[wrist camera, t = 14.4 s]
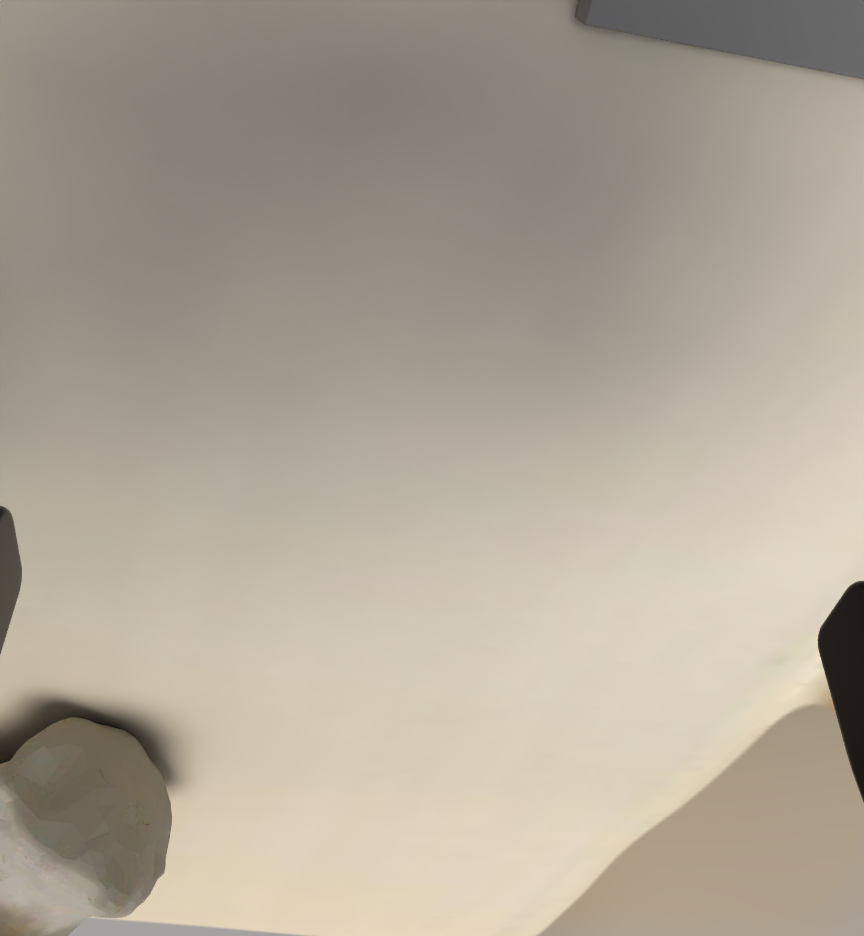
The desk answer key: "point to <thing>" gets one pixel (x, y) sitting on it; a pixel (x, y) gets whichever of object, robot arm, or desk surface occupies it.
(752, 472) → the desk surface
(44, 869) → the ceramic sculpture
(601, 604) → the desk surface
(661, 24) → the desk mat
